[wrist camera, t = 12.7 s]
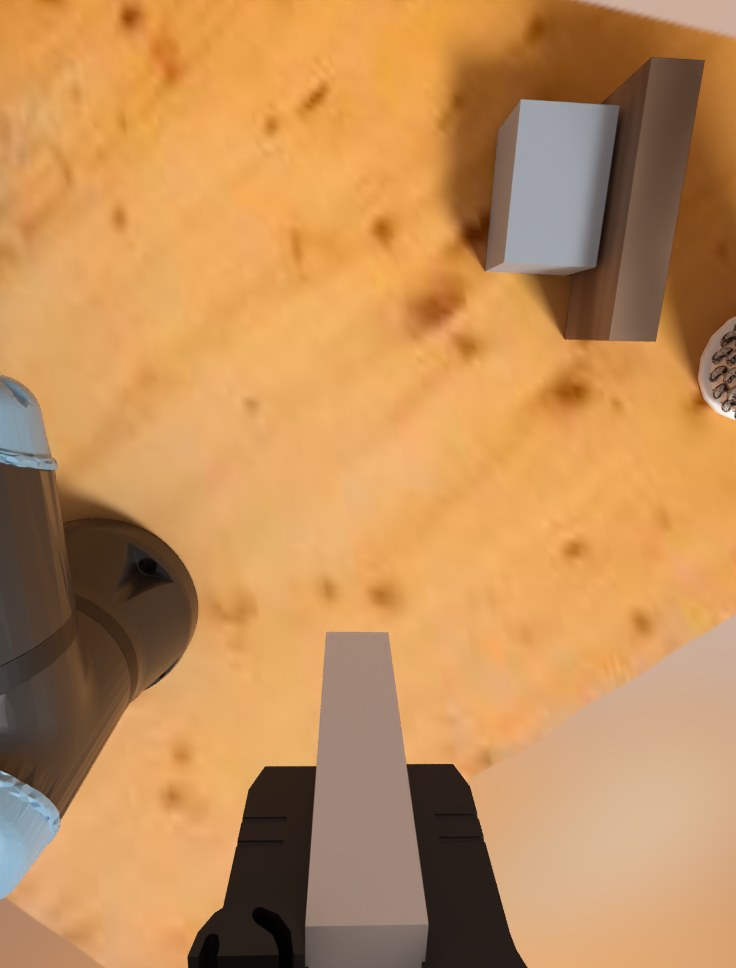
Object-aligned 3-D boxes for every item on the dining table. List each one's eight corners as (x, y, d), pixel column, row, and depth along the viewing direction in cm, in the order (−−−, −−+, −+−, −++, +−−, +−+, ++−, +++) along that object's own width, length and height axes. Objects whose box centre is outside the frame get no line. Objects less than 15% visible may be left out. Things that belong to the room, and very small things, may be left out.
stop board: (564, 339, 40) (609, 339, 33) (594, 110, 36) (651, 57, 29) (603, 340, 40) (655, 341, 33) (637, 112, 36) (704, 60, 29)
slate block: (484, 271, 38) (504, 262, 34) (497, 131, 36) (521, 99, 31) (564, 275, 39) (595, 267, 34) (583, 136, 36) (619, 105, 31)
